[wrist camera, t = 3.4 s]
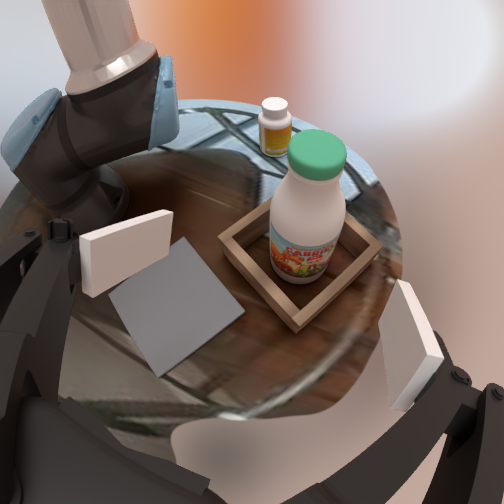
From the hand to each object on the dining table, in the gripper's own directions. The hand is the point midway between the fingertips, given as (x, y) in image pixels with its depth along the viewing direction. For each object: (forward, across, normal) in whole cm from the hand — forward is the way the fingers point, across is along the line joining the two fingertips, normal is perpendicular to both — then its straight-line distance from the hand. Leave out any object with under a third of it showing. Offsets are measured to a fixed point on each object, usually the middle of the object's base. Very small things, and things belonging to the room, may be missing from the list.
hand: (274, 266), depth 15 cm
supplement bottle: (+36, -10, +6) cm, 38 cm away
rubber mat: (+14, -14, -15) cm, 25 cm away
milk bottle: (+22, 0, -7) cm, 23 cm away
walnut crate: (+22, 0, -7) cm, 23 cm away
